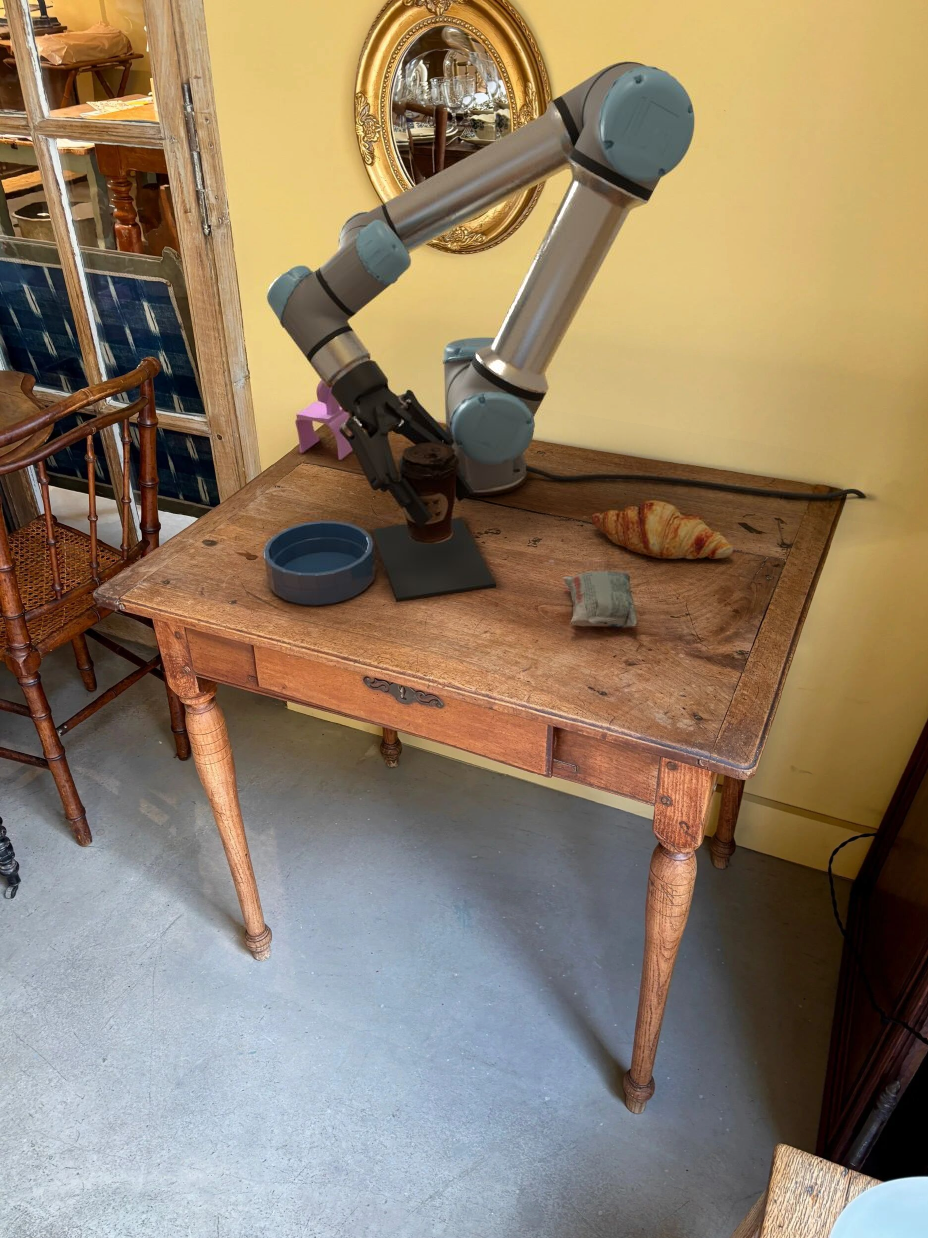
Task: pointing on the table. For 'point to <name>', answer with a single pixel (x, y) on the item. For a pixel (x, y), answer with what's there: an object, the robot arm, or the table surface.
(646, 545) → the croissant
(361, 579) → the bowl
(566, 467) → the table surface
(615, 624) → the packaged food
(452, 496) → the coffee cup
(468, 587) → the mat
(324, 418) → the toy chair
